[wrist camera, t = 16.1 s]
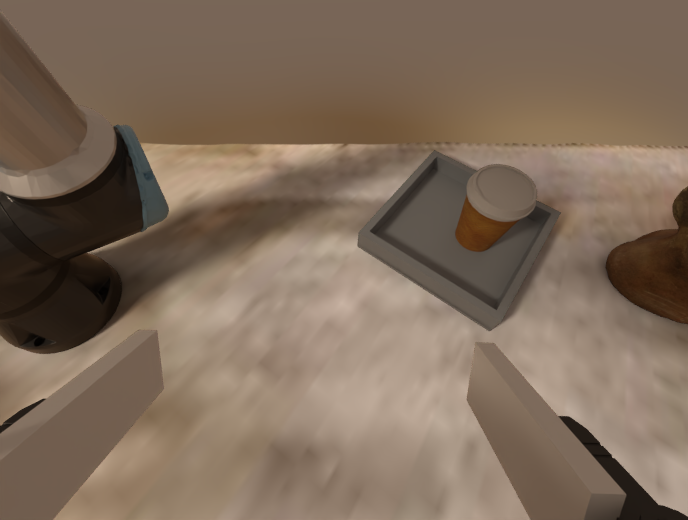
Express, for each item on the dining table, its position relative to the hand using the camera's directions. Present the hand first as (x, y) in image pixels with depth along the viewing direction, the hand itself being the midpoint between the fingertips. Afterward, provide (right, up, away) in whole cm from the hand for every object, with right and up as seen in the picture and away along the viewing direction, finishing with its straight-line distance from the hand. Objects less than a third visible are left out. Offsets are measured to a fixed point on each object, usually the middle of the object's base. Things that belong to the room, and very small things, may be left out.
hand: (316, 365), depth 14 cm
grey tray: (+20, +8, +43) cm, 48 cm away
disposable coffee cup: (+23, +8, +42) cm, 49 cm away
